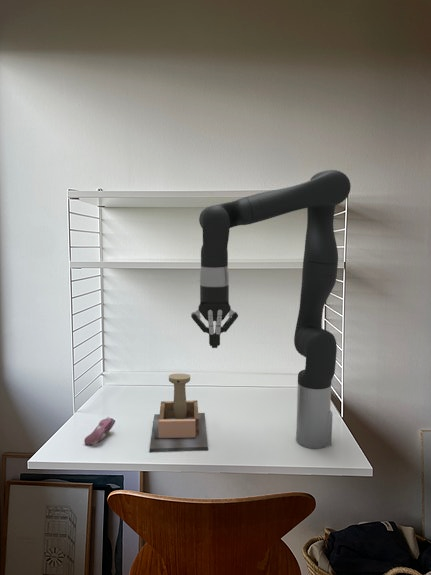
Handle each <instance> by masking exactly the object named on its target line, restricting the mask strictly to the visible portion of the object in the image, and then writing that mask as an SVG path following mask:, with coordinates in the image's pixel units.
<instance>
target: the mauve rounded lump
mask: <svg viewBox="0 0 431 575" xmlns="http://www.w3.org/2000/svg"><path fill="white" fill-rule="evenodd" d="M115 423H116V420H115V419H114V418H112V417H109V416H108V417H106V418H104V419H102V420H100V421H99V423H98V424H97V426H96V427H95V428H94V430H93V431H92V432H91V433H90V434H88V435H87V436H85V438H84V440H83V441H84V442H83V443H84V444H85V446H86V445H89V446H90V445H93V444H95V443H96V442H98V443H101V442H102V440H103V439H104V438H105V437H107V436H108V435H109V432H110V431H111V429H112V428H113V427H114V425H115Z"/></svg>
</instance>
